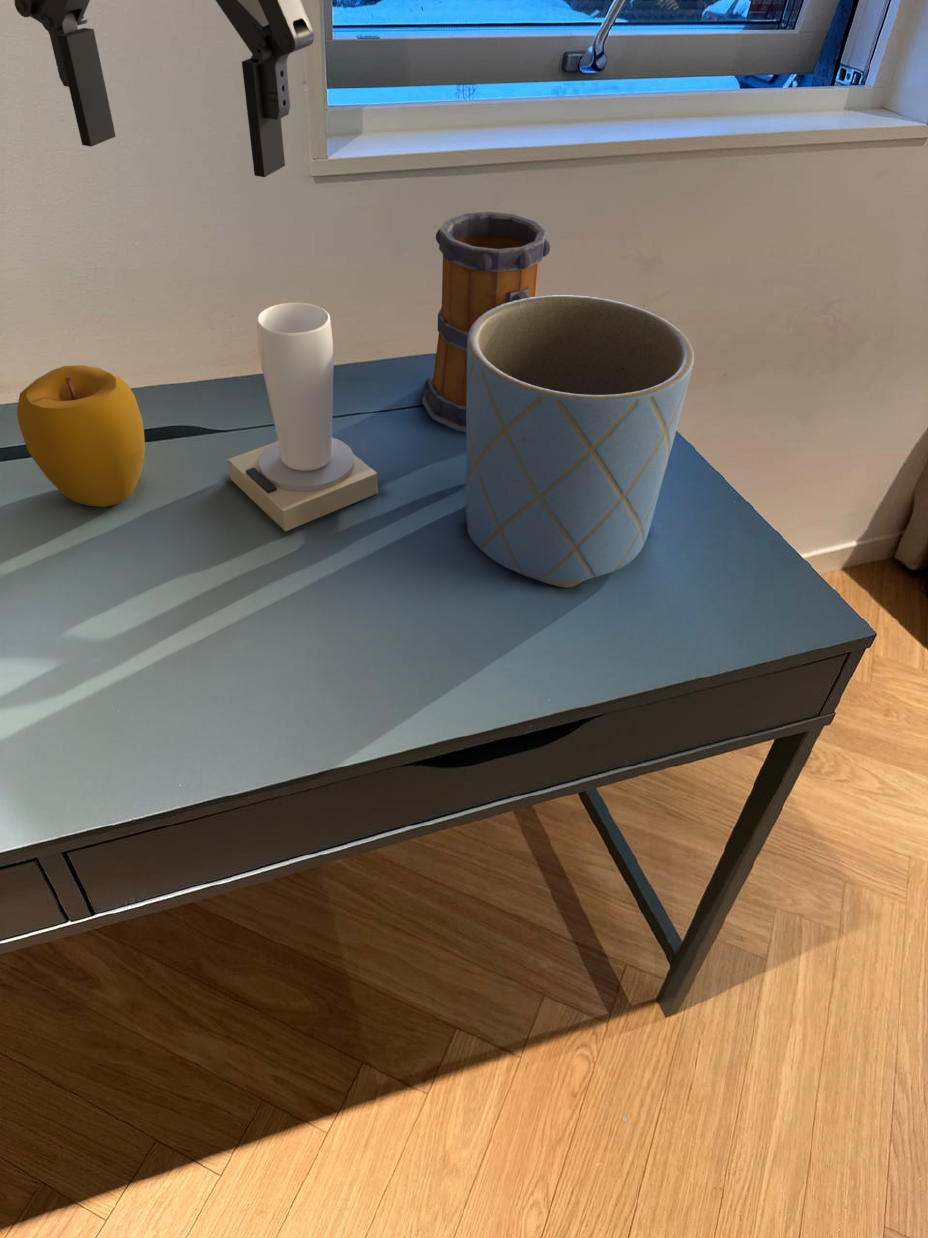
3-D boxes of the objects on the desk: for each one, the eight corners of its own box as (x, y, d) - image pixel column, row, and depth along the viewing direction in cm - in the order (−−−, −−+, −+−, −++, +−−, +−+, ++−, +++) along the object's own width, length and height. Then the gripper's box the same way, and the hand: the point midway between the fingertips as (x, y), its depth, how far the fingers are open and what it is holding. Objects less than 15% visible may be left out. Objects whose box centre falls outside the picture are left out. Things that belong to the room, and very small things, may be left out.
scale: (285, 531, 88) (282, 505, 86) (230, 479, 94) (226, 453, 92) (378, 493, 93) (377, 467, 91) (320, 445, 99) (318, 421, 97)
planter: (572, 624, 80) (605, 426, 66) (419, 530, 89) (420, 339, 75) (688, 531, 90) (737, 344, 77) (540, 455, 100) (561, 276, 86)
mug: (595, 432, 104) (623, 257, 90) (493, 469, 97) (506, 287, 84) (496, 362, 115) (508, 197, 101) (399, 391, 109) (397, 219, 95)
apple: (42, 471, 94) (4, 356, 85) (150, 454, 97) (123, 341, 88) (47, 534, 86) (6, 415, 78) (164, 513, 89) (136, 396, 81)
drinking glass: (354, 459, 92) (346, 318, 82) (302, 486, 88) (287, 341, 78) (310, 433, 95) (298, 294, 85) (259, 458, 92) (239, 316, 81)
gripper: (358, -271, 47) (371, 167, 61) (-28, -287, 53) (67, 116, 67) (287, -279, 42) (319, 201, 56) (-132, -296, 48) (-5, 142, 62)
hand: (182, 155), depth 62 cm, fingers open, 13 cm apart
